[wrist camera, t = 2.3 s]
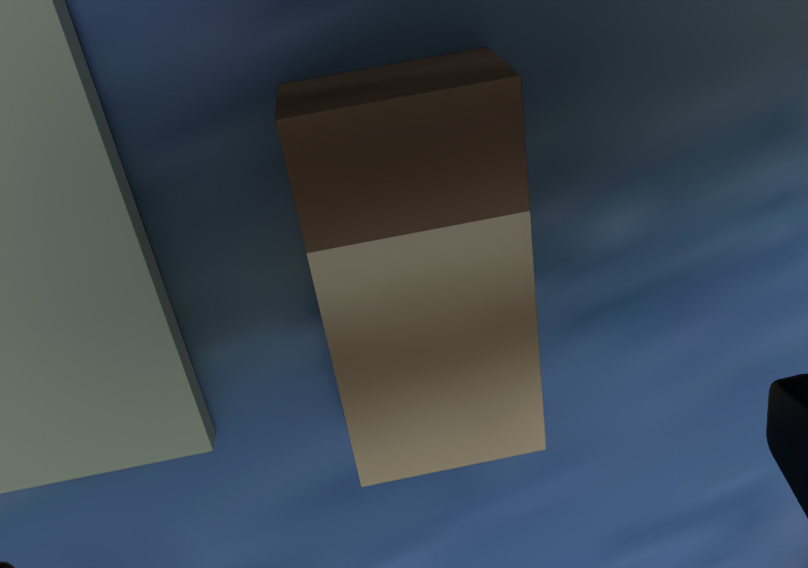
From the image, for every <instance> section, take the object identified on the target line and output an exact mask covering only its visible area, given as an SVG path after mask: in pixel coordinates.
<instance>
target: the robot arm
mask: <svg viewBox="0 0 808 568" xmlns="http://www.w3.org/2000/svg"><path fill="white" fill-rule="evenodd" d="M766 437H767V442H768V446H769V449H770V451H771V453H772V455H773V457H774V459H775V461H776V462H777V464H778V466H779V468H780V470H781V471H782V473H783V475H784V477H785V479H786V480H787V482H788V484H789V486H790V487H791V489H792V491H793V493H794V495H795V496H796V498H797V500H798V502H799V504H800V505H801V507H802V509H803V511H804V512H805V514H806V516H807V518H808V374H799V375H795V376H791V377H787V378H782V379H778V380H776V381H774V382H773V383H772V384H771V386H770V389H769V397H768V412H767V427H766ZM0 568H14V566H13V565H11V564H10V563H8V562H0Z"/></svg>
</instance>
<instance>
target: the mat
mask: <svg viewBox="0 0 808 568" xmlns="http://www.w3.org/2000/svg"><path fill="white" fill-rule="evenodd" d="M215 433H216V432H215V430H214V427H213V424H212V421H211V418H210V415H209V412H208V410H207V407H206V404H205V401H204V398H203V395H202V392H201V389H200V387H199V384H198V381H197V378H196V375H195V372H194V369H193V367H192V364H191V361H190V358H189V355H188V352H187V349H186V347H185V344H184V341H183V338H182V335H181V332H180V329H179V326H178V324H177V321H176V318H175V315H174V312H173V309H172V306H171V304H170V301H169V298H168V295H167V292H166V289H165V286H164V284H163V281H162V278H161V275H160V272H159V269H158V266H157V263H156V261H155V258H154V255H153V252H152V249H151V246H150V243H149V241H148V238H147V235H146V232H145V229H144V226H143V223H142V221H141V218H140V215H139V212H138V209H137V206H136V203H135V201H134V198H133V195H132V192H131V189H130V186H129V183H128V180H127V178H126V175H125V172H124V169H123V166H122V163H121V160H120V158H119V155H118V152H117V149H116V146H115V143H114V140H113V138H112V135H111V132H110V129H109V126H108V123H107V120H106V117H105V115H104V112H103V109H102V106H101V103H100V100H99V97H98V95H97V92H96V89H95V86H94V83H93V80H92V77H91V75H90V72H89V69H88V66H87V63H86V60H85V57H84V54H83V52H82V49H81V46H80V43H79V40H78V37H77V34H76V32H75V29H74V26H73V23H72V20H71V17H70V14H69V12H68V9H67V6H66V3H65V0H0V494H1V493H6V492H11V491H16V490H21V489H26V488H31V487H36V486H41V485H46V484H51V483H56V482H61V481H66V480H71V479H76V478H81V477H86V476H91V475H96V474H101V473H106V472H111V471H116V470H121V469H126V468H131V467H136V466H141V465H146V464H151V463H156V462H161V461H166V460H171V459H176V458H181V457H186V456H191V455H195V454H200V453H205V452H210V451H213V448H214V441H215Z"/></svg>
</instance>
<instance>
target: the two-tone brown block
mask: <svg viewBox="0 0 808 568" xmlns="http://www.w3.org/2000/svg"><path fill="white" fill-rule="evenodd" d="M275 122H276V126H277V130H278V134H279V139H280V143H281V147H282V151H283V156H284V160H285V164H286V168H287V173H288V177H289V181H290V185H291V190H292V194H293V198H294V202H295V207H296V211H297V215H298V219H299V224H300V228H301V232H302V236H303V241H304V245H305V249H306V253H307V258H308V262H309V266H310V270H311V275H312V279H313V283H314V287H315V292H316V296H317V300H318V304H319V309H320V313H321V317H322V321H323V326H324V330H325V334H326V338H327V343H328V347H329V351H330V355H331V360H332V364H333V368H334V372H335V377H336V381H337V385H338V389H339V394H340V398H341V402H342V406H343V411H344V415H345V419H346V423H347V428H348V432H349V436H350V440H351V445H352V449H353V453H354V457H355V462H356V466H357V470H358V474H359V479H360V483H361V487H365V486H369V485H374V484H379V483H384V482H389V481H394V480H399V479H404V478H409V477H413V476H418V475H423V474H428V473H433V472H438V471H443V470H448V469H452V468H457V467H462V466H467V465H472V464H477V463H482V462H487V461H492V460H496V459H501V458H506V457H511V456H516V455H521V454H526V453H531V452H536V451H540V450H545V449H546V443H545V428H544V414H543V399H542V384H541V369H540V354H539V339H538V324H537V309H536V294H535V279H534V264H533V250H532V235H531V220H530V205H529V190H528V175H527V160H526V145H525V130H524V115H523V101H522V86H521V75H520V74H518V73H517V72H516V71H515V70H514V69H513V68H511V67H510V66H509V65H508V64H507V63H506V62H504V61H503V60H502V59H501V58H500V57H499V56H497V55H496V54H495V53H494V52H493V51H492V50H491V49H489V48H488V47H485V48H480V49H474V50H468V51H463V52H457V53H452V54H446V55H440V56H435V57H429V58H424V59H418V60H413V61H407V62H401V63H396V64H390V65H385V66H379V67H373V68H368V69H362V70H357V71H351V72H346V73H340V74H334V75H329V76H323V77H318V78H312V79H307V80H301V81H295V82H290V83H284V84H279V85H277V100H276V115H275Z"/></svg>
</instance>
